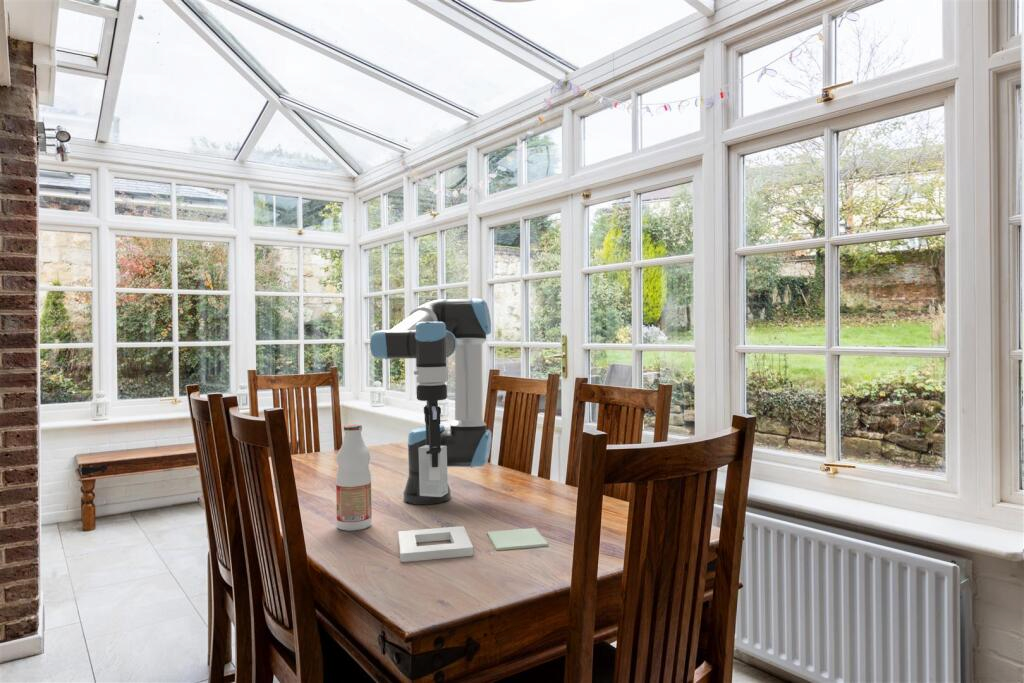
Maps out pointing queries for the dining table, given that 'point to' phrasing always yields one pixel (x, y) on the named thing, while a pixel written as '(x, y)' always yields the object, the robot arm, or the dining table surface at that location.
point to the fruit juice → (353, 482)
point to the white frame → (416, 553)
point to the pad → (516, 539)
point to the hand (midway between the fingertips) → (433, 476)
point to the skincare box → (428, 487)
